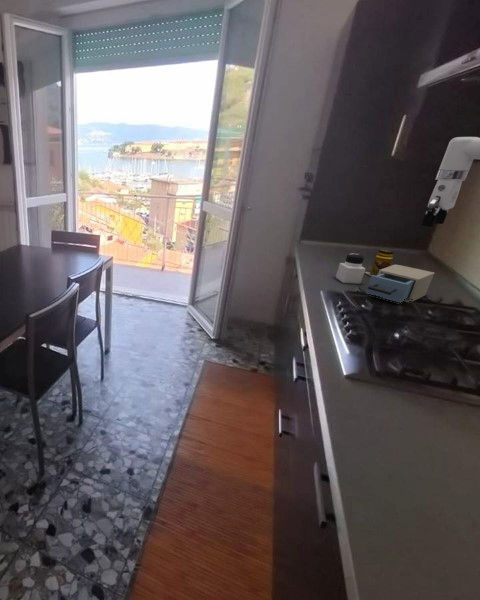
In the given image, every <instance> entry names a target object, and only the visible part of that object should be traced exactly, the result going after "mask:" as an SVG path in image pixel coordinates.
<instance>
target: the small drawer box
mask: <svg viewBox="0 0 480 600" xmlns="http://www.w3.org/2000/svg"><path fill="white" fill-rule="evenodd" d="M382 273H386V274H390V275H395V276H399V277H403V278H407V279H411V280H416V282H415V284H414V287H413V289H412V292H411V294H410V297H409V298H407V299H405V300H403V301H402V302H405V303H409V301H412V302H414V301H417V300H418V299H421V298H423V297H425V296H426V294H427V293H428V290H429V287H430V285H431V283H432V280H433V278H434V275H435V272H433V271H429V270H424V269H420V268H414V267H410V266H406V265H401V264H391V266H389V267H387V268H384V269H381V270H379V273H378V275H380V274H382ZM408 299H413V300H408Z"/></svg>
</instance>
